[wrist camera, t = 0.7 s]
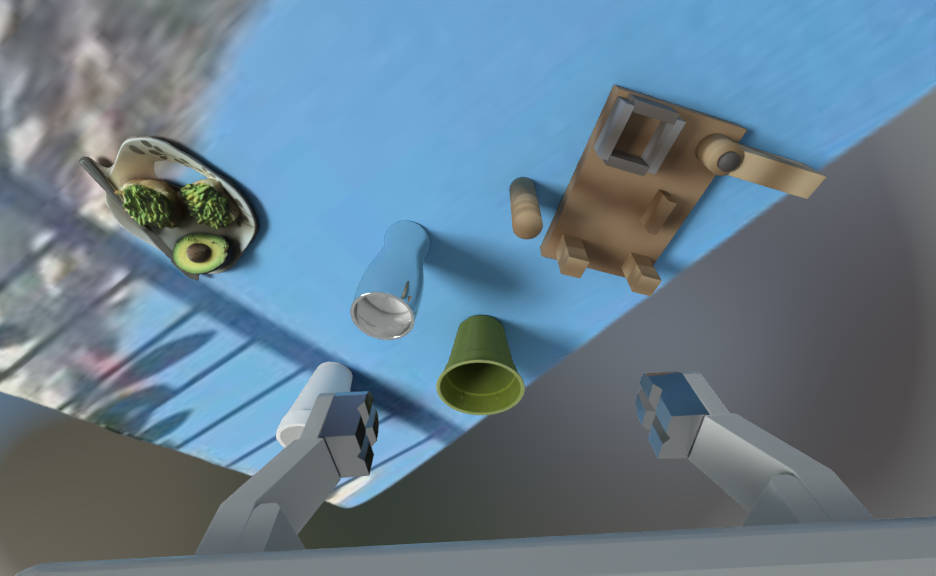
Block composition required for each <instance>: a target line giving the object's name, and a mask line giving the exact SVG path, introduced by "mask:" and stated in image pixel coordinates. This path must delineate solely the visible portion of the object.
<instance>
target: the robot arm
mask: <svg viewBox="0 0 936 576" xmlns="http://www.w3.org/2000/svg"><path fill="white" fill-rule="evenodd" d="M640 384H641V386H642V388H643V389H642V390H641V391H640V392H639V393H638V394H637V398H636V409H637V414H638V417H639V419H640V422H641V424H642V426H644V427H645V428H646V429H648V430H649V431H650V435H649V438H648V439H649V441H650V443H651V445H652V447H653V449H654V451H655V453H656V455H657V457H658V459H666V458H667V459H670V458H689V460H690V461H691V462H692V463H693V464H694V465H695V466H696V467H698V468H699V469H700V470H701V471H702V472H703V473H705V474H706V475H707V476H708V477H709V478H710V479H711V480H713V481H714V482H715V483H716V484H717V485H718V486H719V487H721V488H722V489H723V490H724V491H725V492H726V493H727V494H729V495H730V496H731V497H732V498H733V499H734V500H736V501H737V502H738V503H739V504H740V505H741V506H742V507H744V508H745V509H746V510H747V511H748V512H749V513H750V514H749V515H748V517H747V519H746V521H745V522H744V524H743V526H742V527H725V528H706V529H687V530H668V531H649V532H632V533H631V532H630V533H613V534H612V533H611V534H592V535H574V536H555V537H536V538H518V539H499V540H481V541H462V542H445V543H426V544H425V543H424V544H407V545H406V544H405V545H386V546H368V547H349V548H329V549H311V550H306V549H305V548H304V546H303V545H302V543H301V541H300V540H299V538H298V536H297V534H298V533H299V532H300V530H301V529H302V528H303V527H304V525H305V524H306V522H307V521H308V520H309V519H310V518H311V516H312V515H313V514H314V513H315V511H316V510H317V509H318V507H319V506H320V505H321V504H322V502H323V501H324V500H325V499H326V497H327V496H328V495H329V494H330V492H331V491H332V490H333V489H334V487H335V486H336V485H337V483H338V482H339V481H340V478H344V477H356V476H368V475H369V474H370V470H371V465H372V461H373V456H374V454H373V450H372V446H373V444H374V443H375V442H376V441H377V437H378V428H379V421H378V414H377V410H376V409H375V408H373V407H372V403H373V397H372V394H371V392H369V391H363V392H337V393H320V394H319V395H318V396H317V398H316V400H315V402H314V405H313V407H312V409H311V412H310V414H309V417H308V419H307V422H306V424H305V427H304V429H303V431H302V434H301V436H300V439H298V440H294V441H292V442H291V443H290V444H289V445H288V446H287V447H286V448H284V449H283V450H282V451H281V452H280V453H279V454H278V455H276V456H275V457H274V458H273V459H272V460H271V461H270V462H268V463H267V464H266V465H265V466H264V467H263V468H262V469H260V470H259V471H258V472H257V473H256V474H255V475H254V476H253V477H251V478H250V479H249V480H248V481H247V482H246V483H245V484H243V485H242V486H241V487H240V488H239V489H238V490H237V491H235V492H234V493H233V494H232V495H231V496H230V497H229V498H227V499H226V500H225V501H224V502H223V503H222V504H221V505H220V507H219V509H218V511H217V513H216V515H215V516H214V518H213V521H212V522H211V524H210V526H209V528H208V530H207V532H206V534H205V536H204V538H203V539H202V541H201V543H200V545H199V547H198V549H197V551H196V553H195V555H194V556H176V557H157V558H137V559H120V560H101V561H100V560H99V561H79V562H55V563H44V564H39V565H35V566H32V567H29V568H27V569H25V570H23V571H21V572H20V573H18V574H16V575H15V576H936V516H932V517H913V518H894V519H874V518H873V517H872V516H871V515H870V513H869V512H868V511H867V510H866V509H865V508H864V506H863V505H862V504H861V503H860V502H859V501H858V500H857V498H856V497H855V496H854V495H853V494H852V493H851V491H850V490H849V489H848V488H847V487H846V486H845V485H844V483H843V482H842V481H841V480H840V479H839V478H838V477H837V475H836V474H835V473H834V472H833V471H832V470H830V469H829V468H827V467H825V466H824V465H822V464H820V463H819V462H817V461H815V460H813V459H811V458H810V457H808V456H807V455H805V454H803V453H802V452H800V451H798V450H796V449H795V448H793V447H791V446H790V445H788V444H786V443H785V442H783V441H781V440H780V439H778V438H776V437H774V436H773V435H771V434H769V433H768V432H766V431H764V430H763V429H761V428H759V427H758V426H756V425H754V424H752V423H751V422H749V421H747V420H746V419H744V418H742V417H741V416H739V415H737V414H730V413H729V411H728V410H727V409H726V408H725V406H724V405H723V403H722V402H721V401H720V399H719V398H718V396H717V395H716V394H715V392H714V391H713V390H712V388H711V387H710V386H709V384H708V383H707V382H706V380H705V379H704V378H703V376H702V375H701V373H700V372H698V371H697V370H691V371H678V372H676V371H675V372H661V373H648V374H643V376H642V377H641V381H640Z"/></svg>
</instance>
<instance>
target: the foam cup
mask: <svg viewBox="0 0 936 576" xmlns="http://www.w3.org/2000/svg"><path fill="white" fill-rule="evenodd" d="M352 377H353V375H352V373H351V371H350V370H349V369H348V368H347V367H346V366H344V365H342V364H339V363H336V362H326V363H322V364H321V365H319V366H318V368H317V369H316V370H315V372H314V373H313V375H312V376H311V378H310V379H309V381H308V383H307V384H306V386H305V387H304V389H303V390H302V392H301V393H300V395H299V396H298V398H297V399H296V401H295V402H294V404H293V405H292V407H291V409H290V410H289V412H288V413H287V415H285V416H284V417H283V419H282V421H281V423H280V425H279V427H278V429H277V434H276V438H277V440H278V441H279V442H280V444H281V445H282V446H283V447H285V448H286V447H287V446H288V445H289V444H290V443H291V442H292V441H294V440H298V439H300V436H301V434H302V431H303V429H304V427H305V424H306V422H307V419H308V417H309V414H310V412H311V409H312V407H313V405H314V402H315V400H316V398H317V396H318V395H319V394H320V393H337V392H350V389H351V383H352Z"/></svg>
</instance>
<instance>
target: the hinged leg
mask: <svg viewBox="0 0 936 576" xmlns="http://www.w3.org/2000/svg"><path fill="white" fill-rule="evenodd" d="M695 156H696V158H697V159H698V160H699V161H700V162H701V163H702V164H703V165H704V166H706V167H707V168H708V169H709V170H710V171H711V172H713V173H714V174H715V175H718V176H724V175H730V176H733V177H736V178H739V179H743V180H746V181H749V182H753V183H756V184H759V185H763V186H766V187H769V188H773V189H776V190H779V191H783V192H786V193H789V194H792V195H796V196H799V197H802V198H806V199H807V198H808V197H809V196H810V195H811V194H812V193H813V192H814V191H815V190H816V188H817V187H818V186H819V185H820V184H821V183H822V181H823V180H824V179H825V178H826V176H824V175H823V174H821V173H819V172H817V171H816V170H814V169H812V168H811V167H809V166H807V165H805V164H803V163H800V162H797V161H794V160H791V159H787V158H784V157H781V156H778V155H775V154H772V153H768V152H765V151H762V150H759V149H756V148H752V147H749V146H746V145H743V144H740V143H737V142H733V141H731V140H730V139H728V138H727V137H725V136H724V135H722V134H719V133H714V134H710V135H708V136H706V137H704V138H703V139H702V140H701V141H700V142H699V144H698V145H697V147H696V150H695Z"/></svg>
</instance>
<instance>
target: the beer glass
mask: <svg viewBox="0 0 936 576" xmlns="http://www.w3.org/2000/svg"><path fill="white" fill-rule="evenodd" d="M429 249H430V238H429V235H428V233H427V232H426V230H425V229H424V228H423V227H421V226H420V225H418V224H417V223H414V222H411V221H399V222H396V223H393V224H392V225H391V226H389V227H388V229H387V230H386V232H385V235H384V245H383V247H382V249H381V251H380V252H379V253H378V254H377V256H376V257H375V258H374V259H373V260H372V262H371V263H370V264H369V266H368V267H367V269H366V270H365V272H364V274H363V276H362V278H361V280H360V282H359V285H358V287H357V291H356V294H355V297H354V301H353V303H352V306H351V310H350V313H351V318H352V320H353V322H354V324H355V325H356V326H357V327H358V328H359V329H360V330H361V331H362V332H364V333H365V334H367V335H369V336H371V337H374V338H378V339H383V340H393V339H398V338H401V337H403V336H405V335H407V334H408V333H409V332H410V331H411V330H412V328H413V326H414V322H415V319H416V316H417V313H418V310H419V307H420V304H421V300H422V295H423V289H424V273H423V260H424V258H425V257H426V255H427V253H428V251H429Z"/></svg>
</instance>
